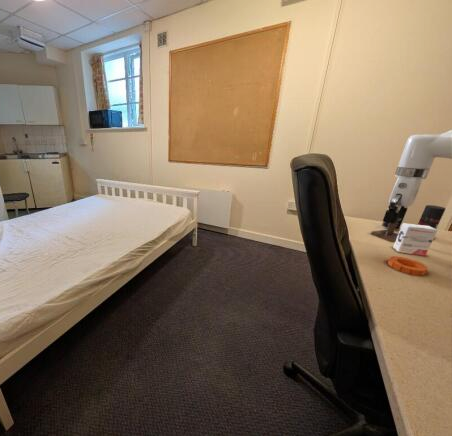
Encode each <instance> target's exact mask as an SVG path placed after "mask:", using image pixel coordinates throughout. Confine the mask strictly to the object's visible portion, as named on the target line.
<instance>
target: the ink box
mask: <svg viewBox="0 0 452 436" xmlns="http://www.w3.org/2000/svg"><path fill="white" fill-rule="evenodd" d="M437 232H438V230H437V228H436V229H434V228H432V227H430V226H424V225H418V224H414V223H407V222H405V223H404V222H402V224H401V226H400V228H399V232H398V233H397V234H398V236H397V239H396V241H395V242H394V244H393V246H392V248H393V249H394V250H395V251H396V252H397V253H403V254H409V255H415V256H416V255H417V256H423V257H426V255H427V253H428V251H429V249H430V247H431V245H432V242H433V241H434V238H435V237H436V234H437Z"/></svg>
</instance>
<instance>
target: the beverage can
mask: <svg viewBox="0 0 452 436" xmlns="http://www.w3.org/2000/svg"><path fill="white" fill-rule="evenodd" d="M404 219H405V217H404V218H399V220H398V223H397V225H396V228H395V230H394V231H398V230H400V229H401V227H402V224H403V221H404ZM389 224H390V223H388V222H384V221H383V220H382V224H381V226H382V228H383V229H384V230H387V229H388V226H389Z"/></svg>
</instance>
